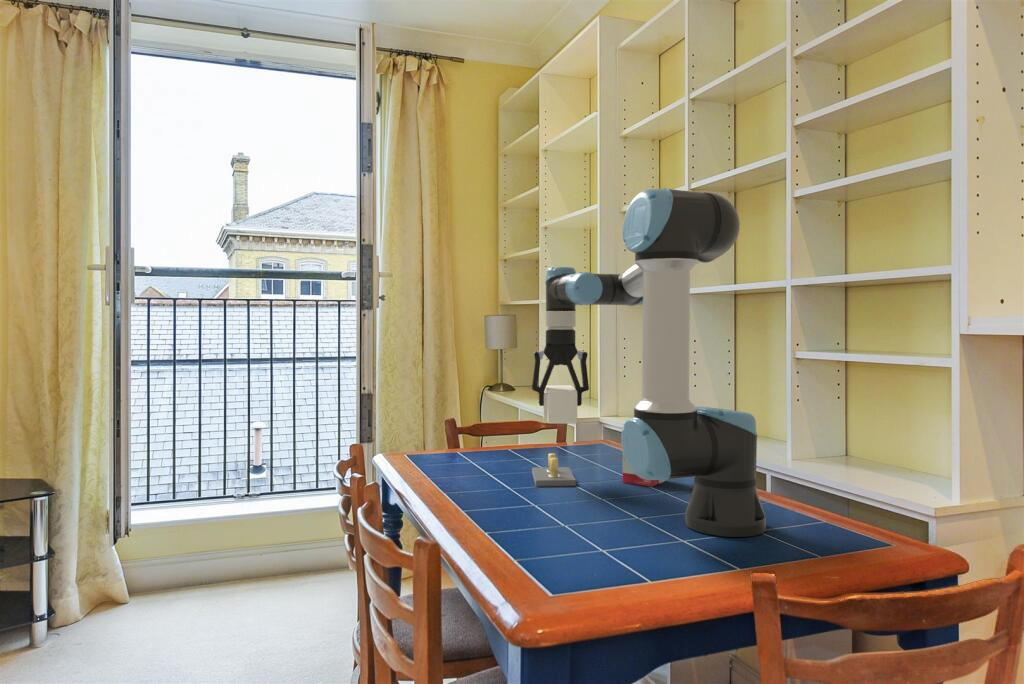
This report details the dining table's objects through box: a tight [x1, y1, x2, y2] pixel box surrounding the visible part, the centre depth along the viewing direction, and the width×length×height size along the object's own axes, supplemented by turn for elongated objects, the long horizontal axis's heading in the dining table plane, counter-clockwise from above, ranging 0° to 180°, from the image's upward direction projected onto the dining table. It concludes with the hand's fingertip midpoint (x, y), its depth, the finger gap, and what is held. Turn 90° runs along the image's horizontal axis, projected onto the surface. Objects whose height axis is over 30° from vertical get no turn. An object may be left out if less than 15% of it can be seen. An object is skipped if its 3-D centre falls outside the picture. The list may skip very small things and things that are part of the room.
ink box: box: [621, 452, 667, 487], centre depth 173 cm, size 9×9×12 cm
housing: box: [544, 384, 578, 425], centre depth 173 cm, size 13×7×8 cm, turn 1°
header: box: [531, 453, 577, 488], centre depth 177 cm, size 16×10×6 cm, turn 2°
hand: (560, 418), depth 173 cm, fingers closed on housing, 7 cm apart
